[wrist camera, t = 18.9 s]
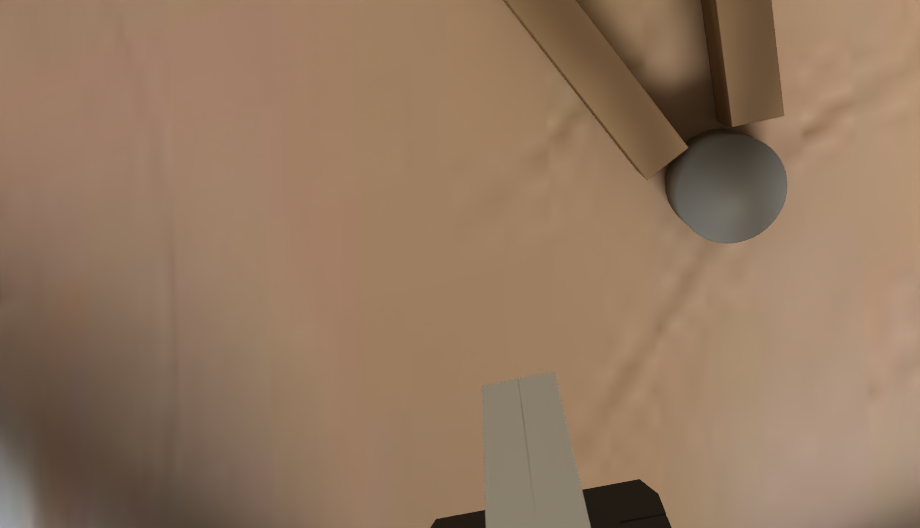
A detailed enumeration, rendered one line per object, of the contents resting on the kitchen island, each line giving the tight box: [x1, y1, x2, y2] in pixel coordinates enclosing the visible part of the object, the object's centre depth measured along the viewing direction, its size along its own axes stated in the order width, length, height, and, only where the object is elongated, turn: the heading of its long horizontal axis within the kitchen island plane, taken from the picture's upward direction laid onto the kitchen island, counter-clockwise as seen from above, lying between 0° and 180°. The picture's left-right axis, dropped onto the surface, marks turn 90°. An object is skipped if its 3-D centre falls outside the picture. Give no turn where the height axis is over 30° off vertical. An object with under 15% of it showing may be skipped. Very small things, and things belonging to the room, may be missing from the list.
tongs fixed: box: [666, 0, 787, 243], centre depth 39 cm, size 5×20×2 cm, turn 13°
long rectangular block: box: [503, 0, 688, 180], centre depth 39 cm, size 2×14×2 cm, turn 40°
